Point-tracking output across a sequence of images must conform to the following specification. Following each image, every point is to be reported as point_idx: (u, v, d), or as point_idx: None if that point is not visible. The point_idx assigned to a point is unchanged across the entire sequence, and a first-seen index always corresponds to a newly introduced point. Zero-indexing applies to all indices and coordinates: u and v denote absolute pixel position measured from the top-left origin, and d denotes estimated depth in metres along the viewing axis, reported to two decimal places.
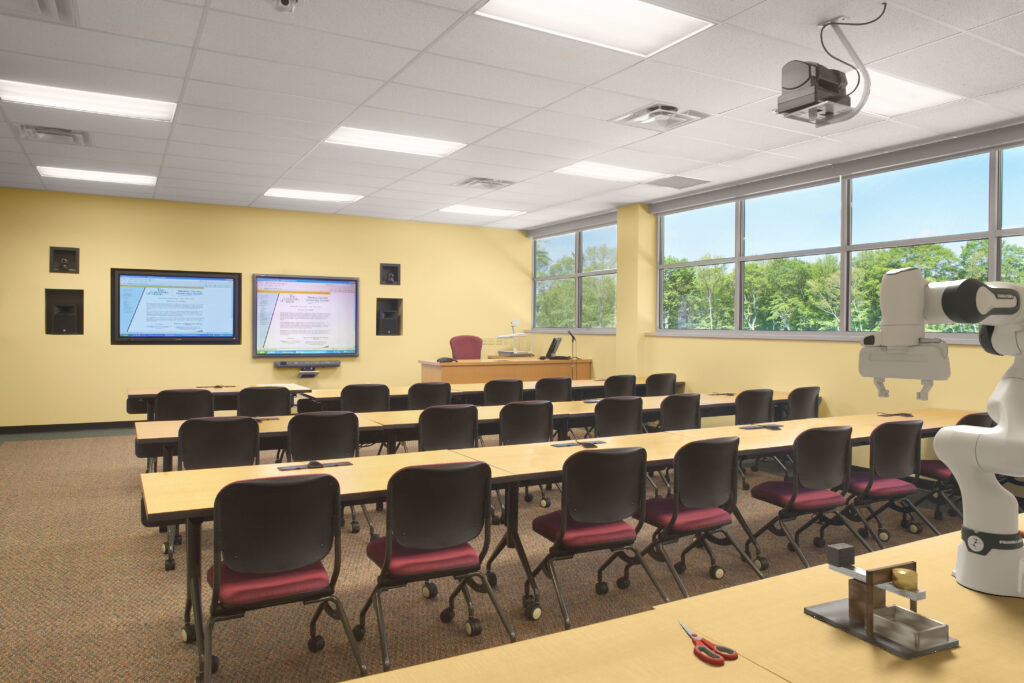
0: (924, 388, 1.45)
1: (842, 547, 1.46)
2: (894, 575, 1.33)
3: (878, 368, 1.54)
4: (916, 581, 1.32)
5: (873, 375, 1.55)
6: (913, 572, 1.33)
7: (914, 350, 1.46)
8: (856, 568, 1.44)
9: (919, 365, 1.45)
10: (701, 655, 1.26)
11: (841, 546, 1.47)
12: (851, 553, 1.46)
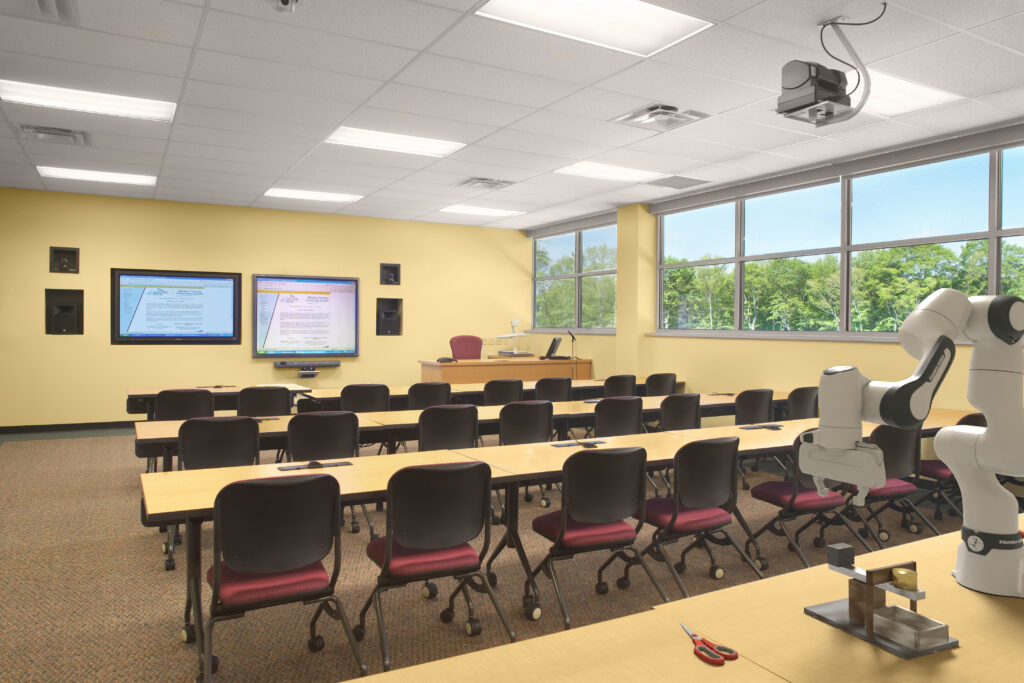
0: (860, 494, 1.41)
1: (842, 547, 1.46)
2: (894, 575, 1.33)
3: (817, 467, 1.51)
4: (916, 581, 1.32)
5: (812, 473, 1.52)
6: (912, 572, 1.33)
7: (850, 454, 1.43)
8: (855, 568, 1.44)
9: (855, 471, 1.42)
10: (701, 655, 1.26)
11: (841, 546, 1.47)
12: (851, 553, 1.46)
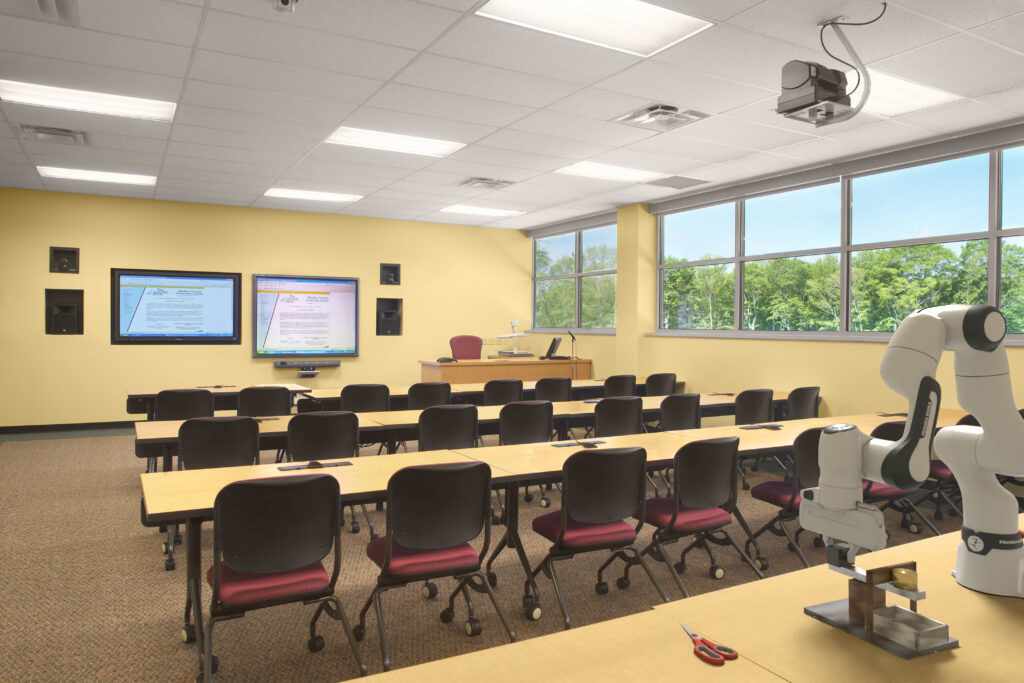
0: (850, 551, 1.44)
1: (842, 547, 1.46)
2: (894, 575, 1.33)
3: (817, 524, 1.51)
4: (916, 581, 1.32)
5: (813, 530, 1.52)
6: (913, 572, 1.33)
7: (851, 514, 1.43)
8: (856, 568, 1.44)
9: (855, 531, 1.42)
10: (701, 655, 1.26)
11: (841, 546, 1.47)
12: None
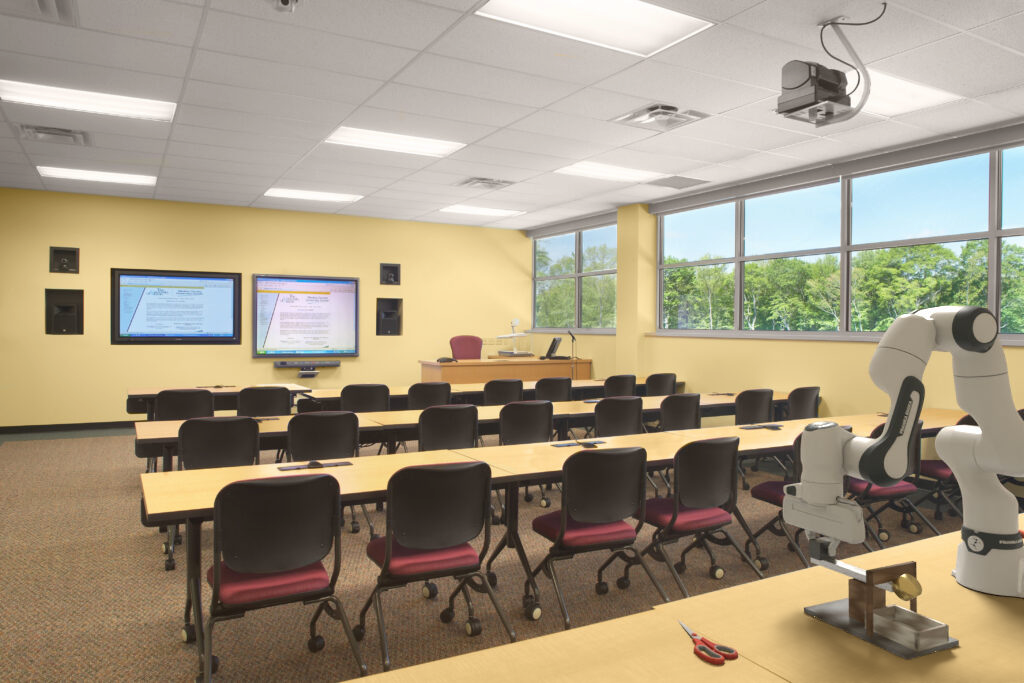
0: (831, 545, 1.48)
1: (823, 541, 1.51)
2: (900, 584, 1.32)
3: (800, 518, 1.55)
4: (915, 596, 1.32)
5: (795, 524, 1.57)
6: (919, 586, 1.32)
7: (831, 509, 1.47)
8: (836, 561, 1.49)
9: (836, 525, 1.46)
10: (701, 655, 1.26)
11: (822, 540, 1.51)
12: None
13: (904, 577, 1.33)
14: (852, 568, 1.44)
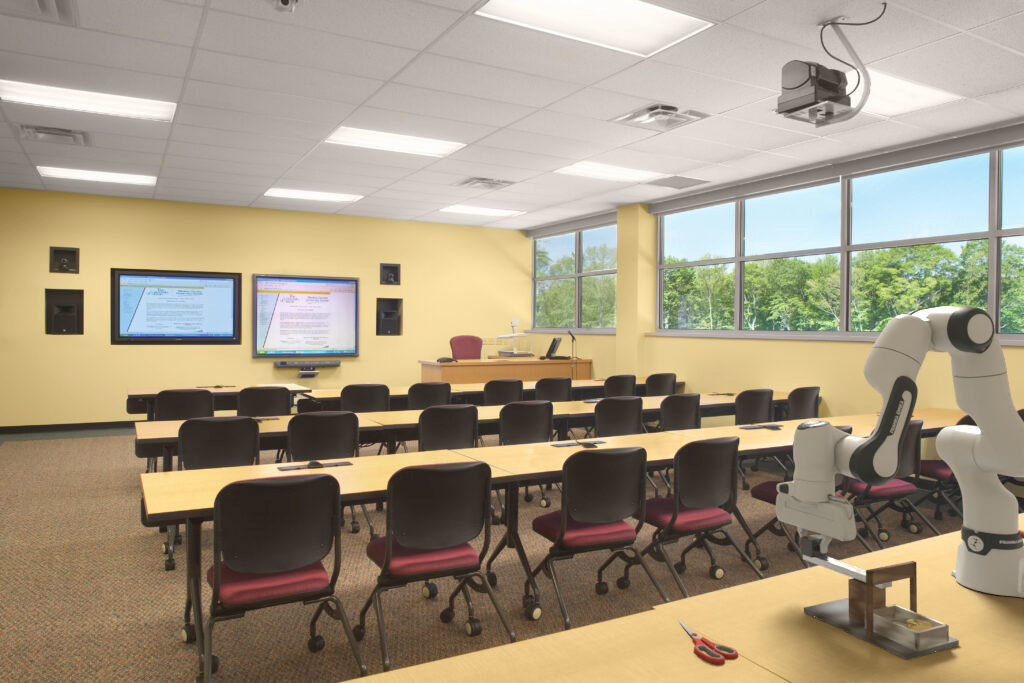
0: (823, 542, 1.50)
1: (815, 538, 1.53)
2: None
3: (792, 516, 1.57)
4: None
5: (788, 522, 1.59)
6: None
7: (823, 507, 1.49)
8: (828, 558, 1.51)
9: (827, 523, 1.48)
10: (701, 654, 1.26)
11: (814, 537, 1.54)
12: None
13: None
14: (843, 565, 1.46)
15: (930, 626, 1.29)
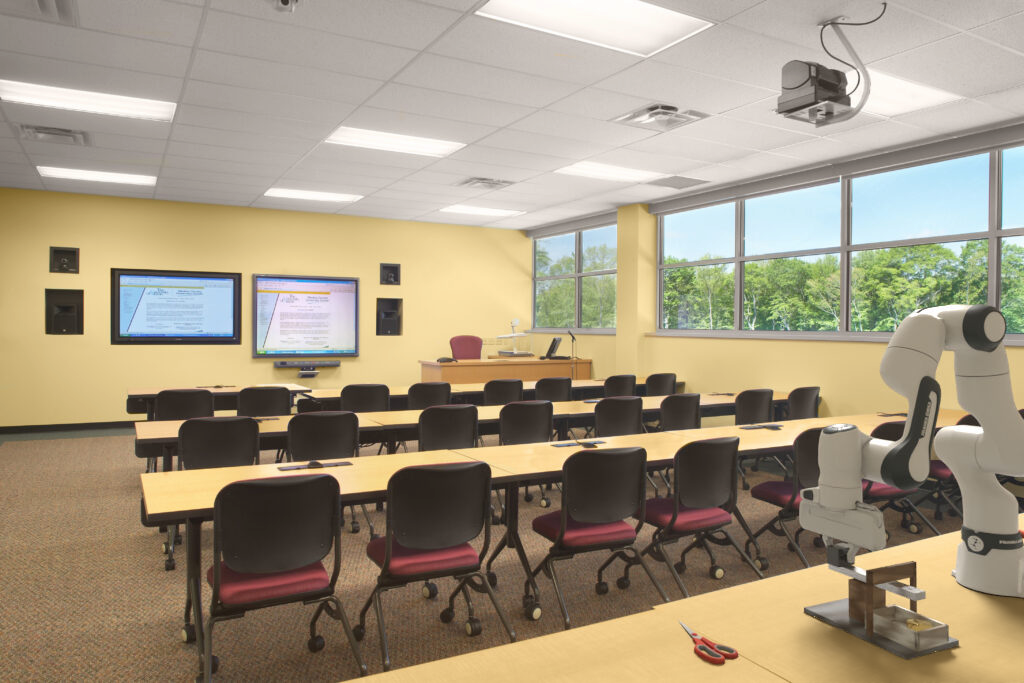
0: (850, 551, 1.44)
1: (842, 547, 1.46)
2: None
3: (817, 524, 1.51)
4: None
5: (813, 530, 1.52)
6: None
7: (851, 514, 1.43)
8: (855, 568, 1.44)
9: (855, 531, 1.42)
10: (702, 654, 1.26)
11: (841, 546, 1.47)
12: None
13: None
14: None
15: (930, 626, 1.29)
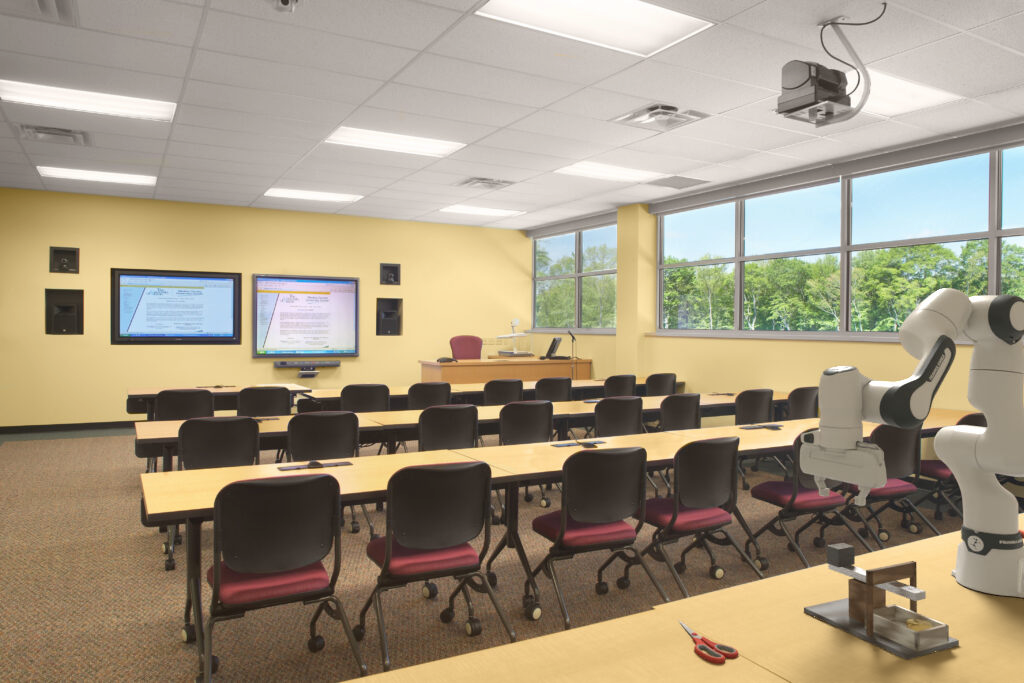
0: (861, 494, 1.42)
1: (842, 547, 1.46)
2: None
3: (818, 467, 1.51)
4: None
5: (813, 473, 1.52)
6: None
7: (851, 454, 1.43)
8: (855, 568, 1.44)
9: (856, 471, 1.42)
10: (702, 654, 1.26)
11: (841, 546, 1.47)
12: (851, 553, 1.46)
13: None
14: None
15: (930, 626, 1.29)
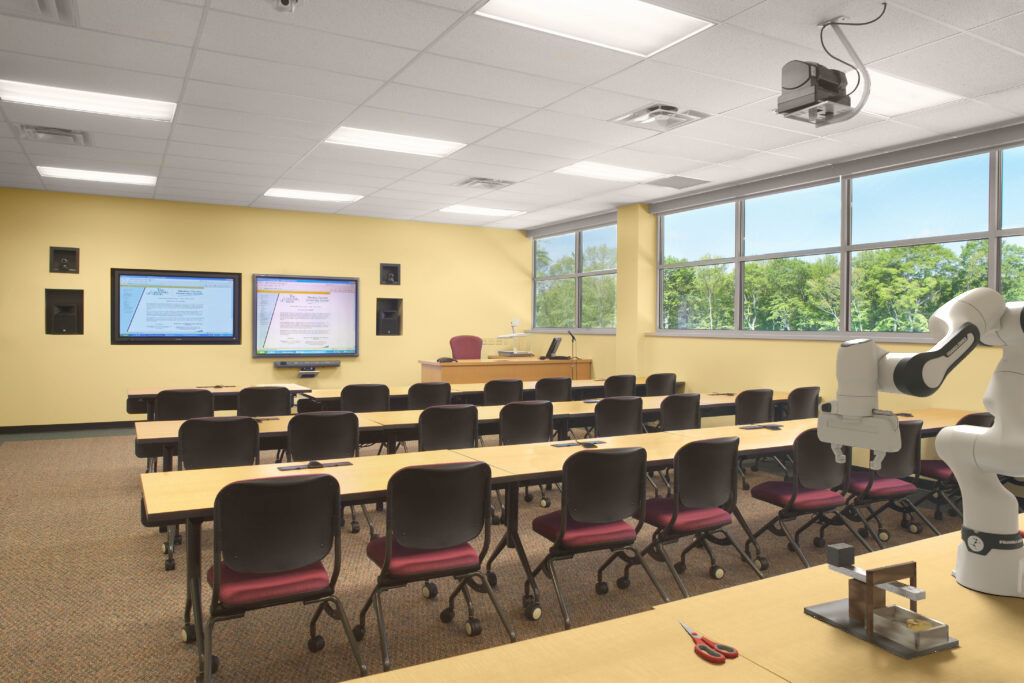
0: (877, 458, 1.50)
1: (842, 547, 1.46)
2: None
3: (835, 435, 1.59)
4: None
5: (830, 441, 1.60)
6: None
7: (867, 421, 1.51)
8: (855, 568, 1.44)
9: (872, 436, 1.50)
10: (702, 654, 1.26)
11: (841, 546, 1.47)
12: (851, 553, 1.46)
13: None
14: None
15: (930, 626, 1.29)
